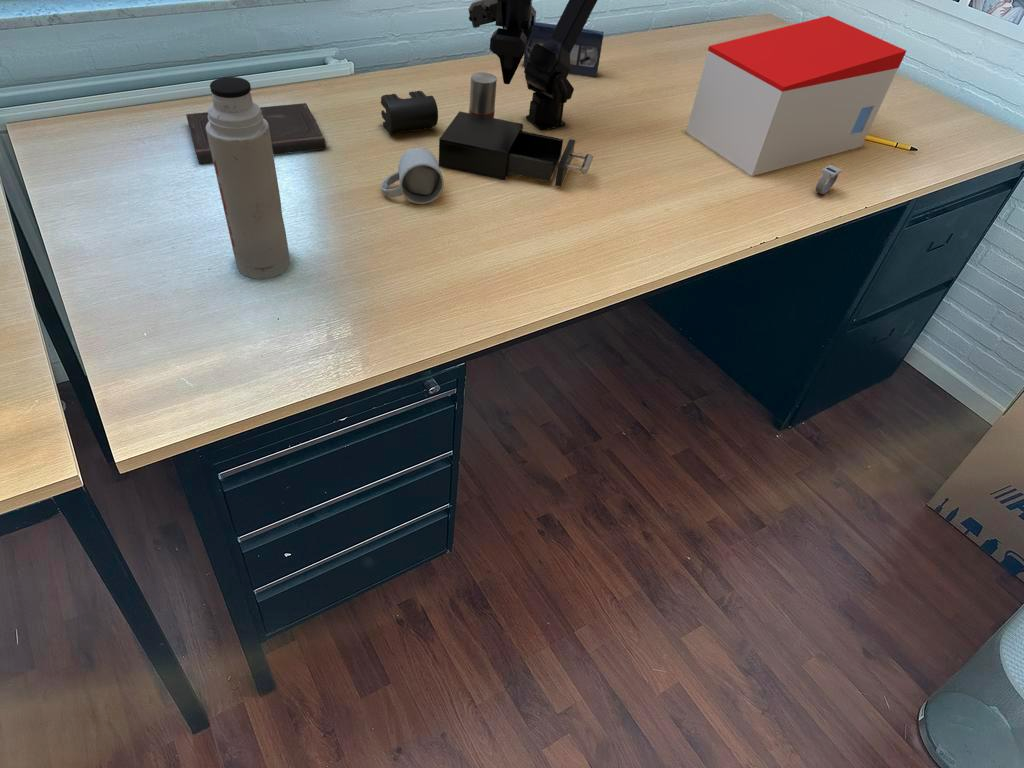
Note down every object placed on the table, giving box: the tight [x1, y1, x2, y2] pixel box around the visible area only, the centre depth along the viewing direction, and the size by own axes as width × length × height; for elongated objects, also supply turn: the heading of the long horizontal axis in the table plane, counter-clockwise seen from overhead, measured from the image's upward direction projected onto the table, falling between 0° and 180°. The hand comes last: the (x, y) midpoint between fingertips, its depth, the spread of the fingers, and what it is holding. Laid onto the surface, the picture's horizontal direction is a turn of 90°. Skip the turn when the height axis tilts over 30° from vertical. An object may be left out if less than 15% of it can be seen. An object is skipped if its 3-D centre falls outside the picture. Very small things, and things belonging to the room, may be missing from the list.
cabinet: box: [438, 111, 524, 181], centre depth 138 cm, size 13×13×6 cm
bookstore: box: [685, 15, 907, 177], centre depth 151 cm, size 21×35×21 cm, turn 121°
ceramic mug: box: [380, 147, 445, 205], centre depth 126 cm, size 11×8×8 cm
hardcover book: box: [185, 102, 327, 164], centre depth 137 cm, size 16×23×2 cm
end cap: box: [380, 90, 439, 135], centre depth 144 cm, size 10×7×7 cm
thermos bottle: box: [206, 76, 291, 280], centre depth 101 cm, size 8×8×28 cm
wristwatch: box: [815, 164, 843, 195], centre depth 141 cm, size 6×3×5 cm, turn 135°
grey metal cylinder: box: [468, 71, 498, 118], centre depth 147 cm, size 5×5×10 cm
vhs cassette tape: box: [522, 21, 605, 78], centre depth 172 cm, size 18×3×10 cm, turn 81°
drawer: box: [506, 130, 594, 188], centre depth 137 cm, size 16×12×4 cm
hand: (510, 74), depth 139 cm, fingers open, 9 cm apart
